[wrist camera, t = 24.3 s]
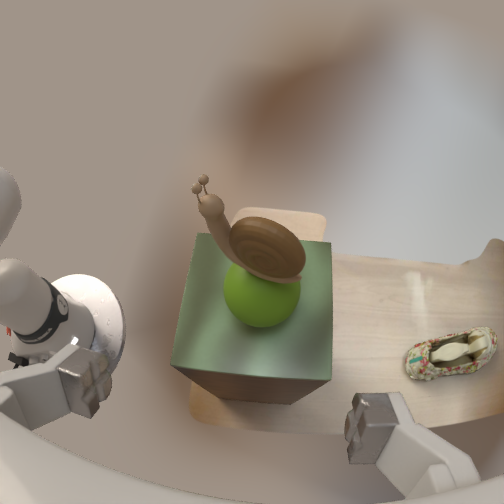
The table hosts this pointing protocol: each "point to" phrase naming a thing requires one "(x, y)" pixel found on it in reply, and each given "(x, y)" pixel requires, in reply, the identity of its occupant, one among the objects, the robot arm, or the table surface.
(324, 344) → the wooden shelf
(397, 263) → the table surface
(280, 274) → the snail figurine
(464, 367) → the ballet flat
